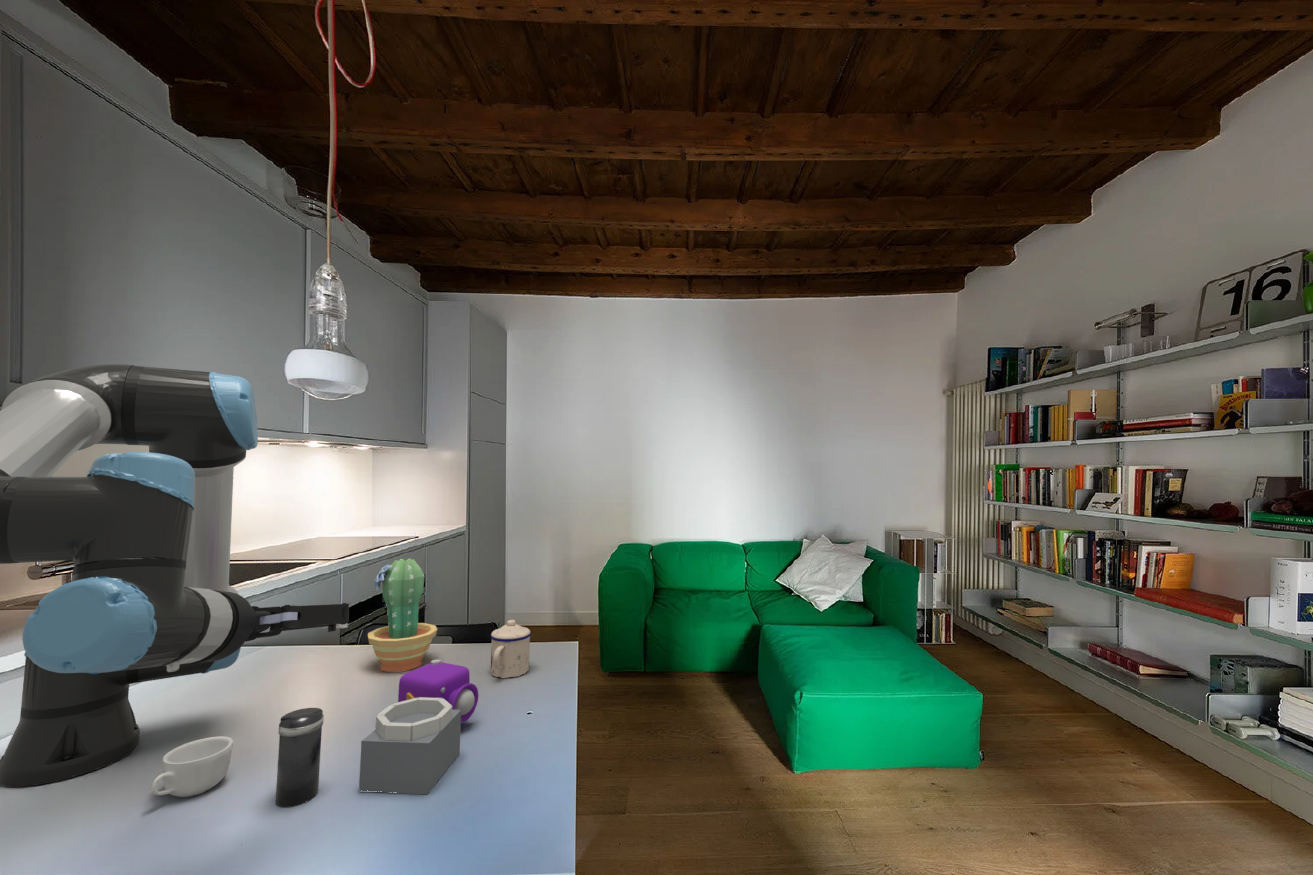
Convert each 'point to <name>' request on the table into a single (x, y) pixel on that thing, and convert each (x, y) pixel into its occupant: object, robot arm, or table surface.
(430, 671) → the toy camera
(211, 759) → the teacup
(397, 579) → the potted cactus
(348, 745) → the table surface
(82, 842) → the table surface
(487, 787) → the table surface
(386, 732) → the camera body block
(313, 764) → the lens
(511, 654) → the teacup with lid
